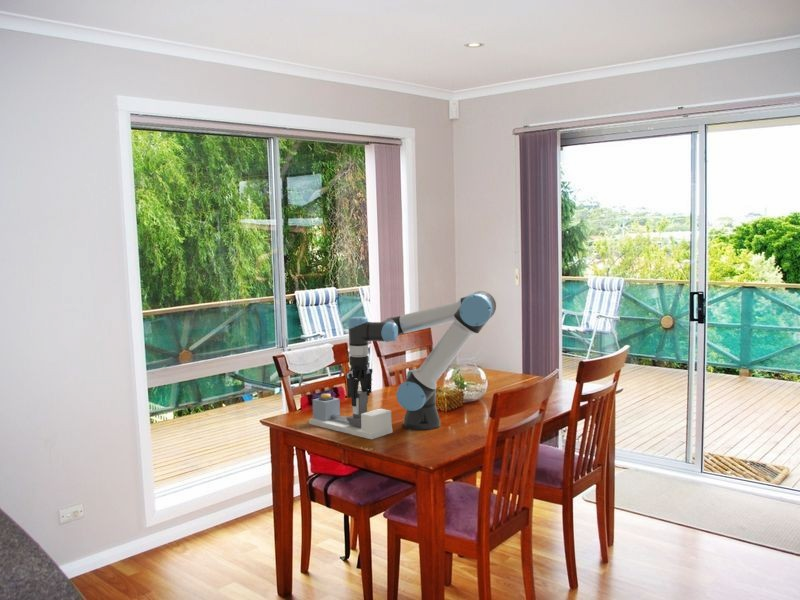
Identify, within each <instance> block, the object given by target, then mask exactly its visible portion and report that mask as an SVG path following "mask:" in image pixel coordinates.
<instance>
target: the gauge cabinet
mask: <svg viewBox="0 0 800 600" xmlns="http://www.w3.org/2000/svg"><path fill="white" fill-rule="evenodd" d="M340 403H341V401H340V398H336V397H333V400H329V401H322V400H319V397H318V398H315V399H314V398H313V399H312V418H314V419H318V420H322V421H329V420H331V415H334V414H336V415H340V416H341V411H340V410H341V407H340V406H341V404H340Z"/></svg>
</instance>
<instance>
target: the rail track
mask: <svg viewBox="0 0 800 600" xmlns="http://www.w3.org/2000/svg"><path fill="white" fill-rule="evenodd" d="M308 421H309V425H312V426H316V427H321V428H324V429H328V430H332V431H337V432H340V433H345V434H348V435H353V436H356V437H361V438H365V439H369V440H374V439H377V438H380V437H383V436H386V435H389V434H392V433H393V432H394V431H393V427H392V426H393V425H392V422H393V421H392V410H390V409H385V408H378V409H373V410H370V411H367V412H366V413H362V414H361V427H357V426H353V425H349V424H347V423H342V422H338V421H334V420H329V421H322V420H318V419H314V418H313V417H312V418H310V419H309V420H308Z"/></svg>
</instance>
